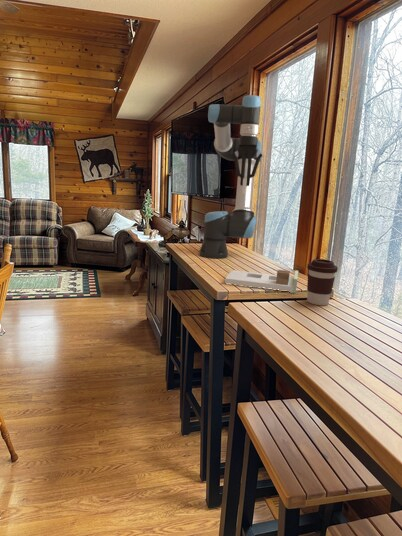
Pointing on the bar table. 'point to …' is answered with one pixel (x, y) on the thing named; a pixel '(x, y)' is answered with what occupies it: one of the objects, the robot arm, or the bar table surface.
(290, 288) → the board
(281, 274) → the block
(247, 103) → the robot arm
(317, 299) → the coffee cup
